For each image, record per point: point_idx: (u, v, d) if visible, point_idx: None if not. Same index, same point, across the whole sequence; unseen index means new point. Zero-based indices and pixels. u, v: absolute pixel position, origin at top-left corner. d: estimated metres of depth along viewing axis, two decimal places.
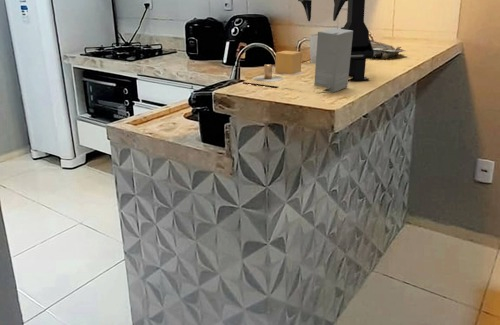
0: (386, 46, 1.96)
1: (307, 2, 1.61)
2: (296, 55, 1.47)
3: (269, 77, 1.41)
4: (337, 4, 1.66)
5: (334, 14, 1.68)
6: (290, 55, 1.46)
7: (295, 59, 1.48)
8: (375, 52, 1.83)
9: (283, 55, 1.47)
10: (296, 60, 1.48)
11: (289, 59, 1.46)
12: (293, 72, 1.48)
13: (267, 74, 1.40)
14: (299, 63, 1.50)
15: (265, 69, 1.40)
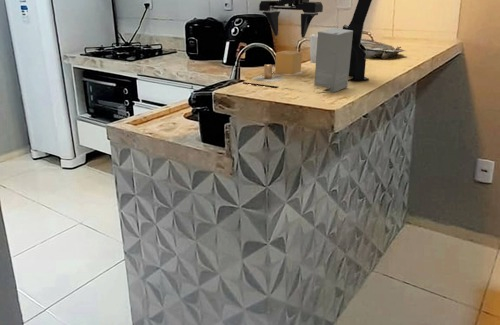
0: (386, 46, 1.96)
1: (266, 14, 1.46)
2: (296, 55, 1.47)
3: (269, 77, 1.41)
4: None
5: None
6: (290, 55, 1.46)
7: (295, 59, 1.48)
8: (375, 52, 1.83)
9: (283, 55, 1.47)
10: (296, 60, 1.48)
11: (289, 59, 1.46)
12: (293, 72, 1.48)
13: (267, 74, 1.40)
14: (299, 63, 1.50)
15: (265, 69, 1.40)
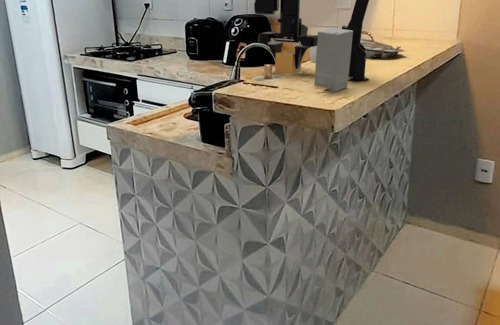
0: (386, 46, 1.96)
1: (270, 47, 1.49)
2: None
3: (269, 77, 1.41)
4: None
5: None
6: (290, 55, 1.46)
7: None
8: (374, 52, 1.83)
9: (283, 55, 1.47)
10: None
11: (289, 59, 1.46)
12: (293, 72, 1.48)
13: (267, 74, 1.40)
14: None
15: (265, 69, 1.40)
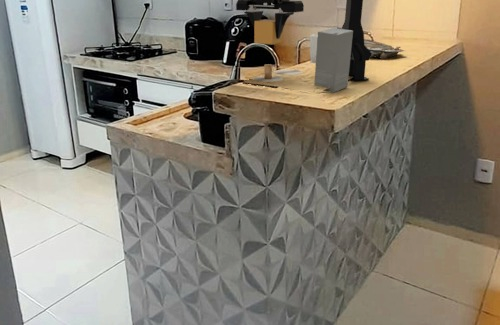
0: (385, 46, 1.96)
1: (248, 14, 1.36)
2: None
3: (269, 77, 1.41)
4: None
5: None
6: (270, 23, 1.33)
7: None
8: (374, 52, 1.83)
9: (262, 23, 1.34)
10: None
11: (269, 27, 1.33)
12: (273, 42, 1.35)
13: (267, 74, 1.40)
14: None
15: (265, 69, 1.40)
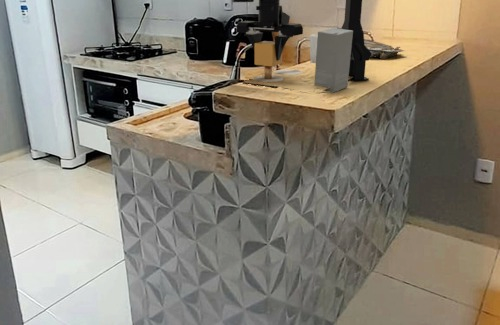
0: (385, 46, 1.96)
1: (248, 36, 1.38)
2: None
3: (269, 77, 1.41)
4: None
5: None
6: (270, 45, 1.35)
7: None
8: (373, 52, 1.83)
9: (262, 45, 1.36)
10: None
11: (269, 50, 1.35)
12: (273, 64, 1.37)
13: (267, 74, 1.40)
14: None
15: (265, 69, 1.40)
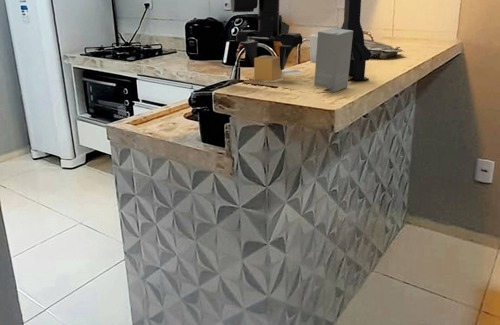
0: (385, 46, 1.96)
1: (243, 45, 1.39)
2: (276, 60, 1.38)
3: None
4: None
5: None
6: (269, 60, 1.36)
7: (275, 65, 1.38)
8: (373, 52, 1.83)
9: (262, 60, 1.38)
10: (276, 66, 1.39)
11: (268, 65, 1.37)
12: (273, 78, 1.38)
13: None
14: (280, 69, 1.41)
15: None
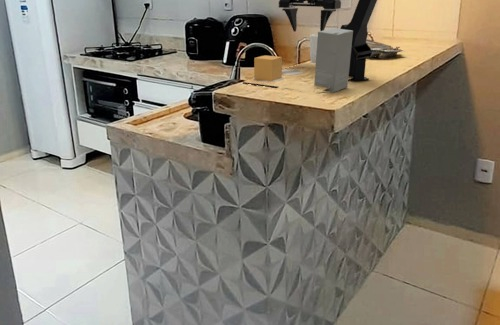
0: (385, 46, 1.96)
1: (286, 11, 1.53)
2: (276, 60, 1.38)
3: None
4: None
5: None
6: (269, 60, 1.36)
7: (275, 65, 1.38)
8: (372, 52, 1.83)
9: (262, 60, 1.38)
10: (276, 66, 1.39)
11: (268, 65, 1.37)
12: (273, 78, 1.38)
13: None
14: (280, 69, 1.41)
15: None
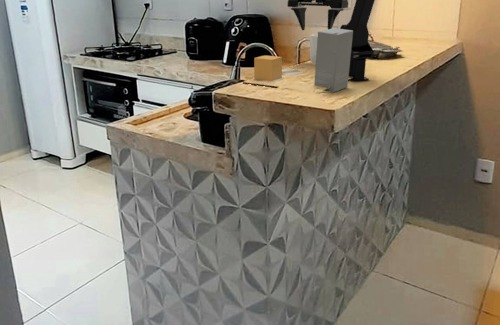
0: (385, 46, 1.96)
1: (294, 10, 1.56)
2: (276, 60, 1.38)
3: None
4: None
5: None
6: (269, 60, 1.36)
7: (275, 65, 1.38)
8: None
9: (262, 60, 1.38)
10: (276, 66, 1.39)
11: (268, 65, 1.37)
12: (273, 78, 1.38)
13: None
14: (280, 69, 1.41)
15: None
